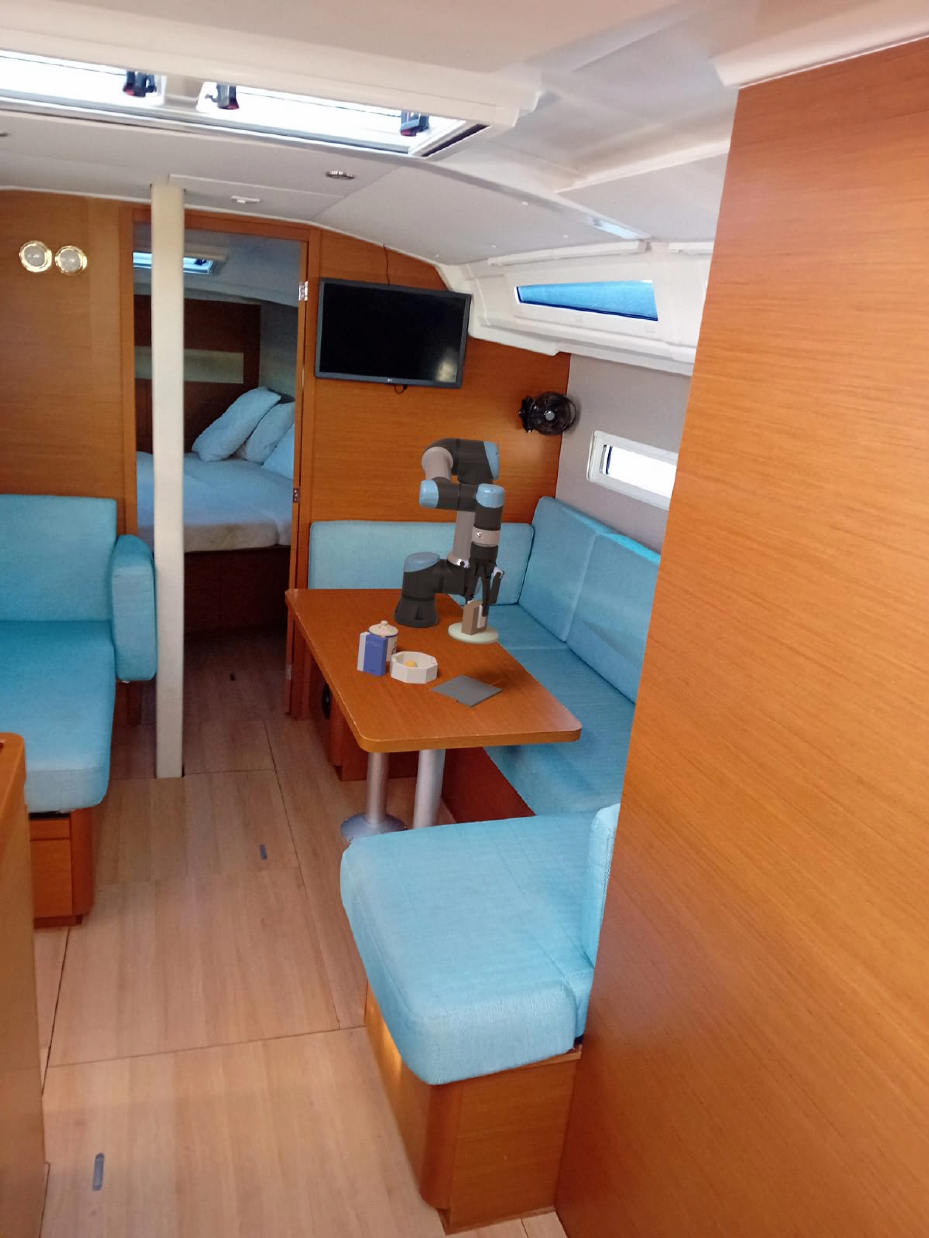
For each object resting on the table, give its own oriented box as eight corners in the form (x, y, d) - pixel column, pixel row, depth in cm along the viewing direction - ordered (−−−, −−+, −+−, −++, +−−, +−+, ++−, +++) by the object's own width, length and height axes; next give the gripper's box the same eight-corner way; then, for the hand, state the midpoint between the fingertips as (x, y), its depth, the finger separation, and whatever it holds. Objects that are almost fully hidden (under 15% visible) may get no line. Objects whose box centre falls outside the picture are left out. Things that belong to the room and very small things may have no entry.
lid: (466, 622, 268) (470, 592, 265) (507, 636, 261) (512, 605, 258) (438, 633, 257) (441, 601, 254) (480, 647, 250) (484, 615, 247)
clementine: (408, 670, 273) (410, 657, 272) (419, 674, 271) (421, 661, 270) (400, 673, 270) (401, 660, 268) (411, 677, 268) (412, 665, 266)
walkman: (385, 675, 269) (388, 636, 265) (380, 678, 266) (383, 639, 262) (361, 668, 272) (365, 630, 268) (356, 671, 269) (359, 632, 265)
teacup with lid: (397, 664, 278) (401, 627, 274) (367, 662, 276) (370, 626, 273) (393, 649, 289) (396, 613, 286) (363, 648, 287) (367, 612, 284)
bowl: (408, 663, 279) (409, 648, 278) (443, 676, 273) (445, 661, 271) (380, 674, 269) (382, 658, 267) (416, 688, 262) (418, 672, 261)
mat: (461, 676, 275) (462, 674, 274) (501, 691, 268) (502, 689, 267) (429, 691, 262) (430, 689, 262) (471, 707, 255) (471, 705, 254)
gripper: (452, 537, 252) (443, 619, 259) (503, 552, 243) (492, 635, 251) (467, 534, 258) (458, 614, 265) (517, 547, 250) (506, 630, 257)
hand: (474, 624), depth 258 cm, fingers closed on lid, 3 cm apart
